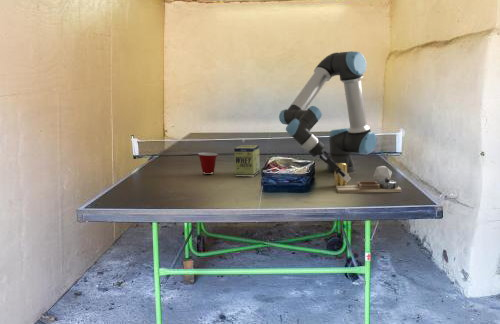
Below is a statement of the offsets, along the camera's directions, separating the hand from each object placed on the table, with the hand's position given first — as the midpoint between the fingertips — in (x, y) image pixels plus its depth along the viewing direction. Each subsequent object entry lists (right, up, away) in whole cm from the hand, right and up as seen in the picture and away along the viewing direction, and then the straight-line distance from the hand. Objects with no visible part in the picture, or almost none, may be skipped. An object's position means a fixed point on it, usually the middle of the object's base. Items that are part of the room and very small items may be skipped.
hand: (348, 179), depth 255 cm
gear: (+16, -3, -10) cm, 19 cm away
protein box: (-48, +1, +40) cm, 62 cm away
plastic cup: (-70, +1, +44) cm, 82 cm away
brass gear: (-3, -3, +1) cm, 5 cm away
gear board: (+7, -5, -9) cm, 13 cm away
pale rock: (+18, -2, +7) cm, 20 cm away
